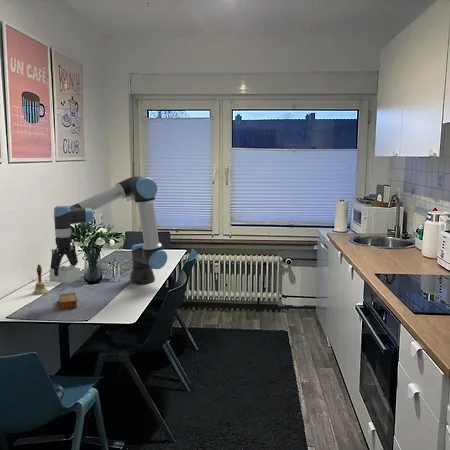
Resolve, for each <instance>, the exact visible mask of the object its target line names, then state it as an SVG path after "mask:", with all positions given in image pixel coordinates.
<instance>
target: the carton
mask: <svg viewBox="0 0 450 450" xmlns="http://www.w3.org/2000/svg"><path fill="white" fill-rule="evenodd" d="M58 297H59V308H60V309H59V310H60V311H63V310H70V309H77V308H78V305H77V304H78V303H77V302H78V301H77V295H76V292H67V293H59V295H58ZM62 309H63V310H62Z"/></svg>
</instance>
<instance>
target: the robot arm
mask: <svg viewBox="0 0 450 450" xmlns="http://www.w3.org/2000/svg"><path fill="white" fill-rule="evenodd" d="M157 193H158V185H157V182H156V181H155V180H154V179H153V178H151V177H147V176H130V177H128V178H126V179H124V180H121V181H120V182H117V183H115V185H114V186H113V187H112V186H111V188H108V189H106V190H104V191H102V192H99V193H97V194H95V195H93V196H90V197H88V198H86V199H83V200H81V201H79V202H77V203H74V204H73V205H57V206H55V207H54V208H53V221H54V236H55V237H54V238H55V245H56V248H55V249H53V248H52V249H51V260H50V269H54V275H55V281H56V282H55V283H60V282H61V280H60V269H59V267H60V265H61V263H62V258H64V256H66V257H67V260H68V262H69V265H68V267H75V268H76V266H77V264H78V263H79V260H78V256H77V251H76V245H74V244H72V227H71V225H75V224H87V223H92V222H93V221H94V218H95V217H94V215H95V214H94V212H95V211H97V210H98V209H100V208H101V209H102V208H103V207H105V206H108V205H110V204H111V203H114V202H116V201H118V200H120V199H122V200H125V199H127V198H130V197H134V198H133V199H134V202H135V204H136V205H137V207H138V211H139V220H140V225H141V232H142V238H143V243H138V244H134V245H132V246H131V262H132V264H131V265H132V266H131V267H132V268H131V274H130V276H129V282H130V283H132V284H135V285H136V284H137V285H139V284H140V285H143V284H145V285H146V284H151V283H154V282H155V280H156V277H155V273H154V271H153V270H161V269H162V268H164V267H165V265H166V264H167V262H168V255H167V254H168V253H167V252H166V251H165V250H164V249H163V248H164V247H163V245H162V243H161V242H160V241H159V234H158V226H157V218H156V214H155V213H156V212H155V208H154V207H155V206H154V202H155V201H156V195H157Z"/></svg>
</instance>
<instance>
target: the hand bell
mask: <svg viewBox="0 0 450 450" xmlns="http://www.w3.org/2000/svg"><path fill="white" fill-rule="evenodd" d="M36 273H37V278H38V279H37V282H36V283H35V288H34V290H33V292H32V294H33V295H44V294H45V295H46V294H47V293H49V289H47V287H46V285H45V282H43V281H42V273H43V271H42V266H41V264H37V268H36Z"/></svg>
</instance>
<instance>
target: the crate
mask: <svg viewBox="0 0 450 450" xmlns="http://www.w3.org/2000/svg"><path fill="white" fill-rule="evenodd" d="M59 269H60V280H61V282H59V283H60V284H61V283H62V284H71V283H74V282H77V281H80V280H81V268H79V267H76V266H75V267H69V265H68V266H67V265H61V266H59ZM49 282H55V283H57V282H56V281H55V275H54V269H51V268H50V269H49Z"/></svg>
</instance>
